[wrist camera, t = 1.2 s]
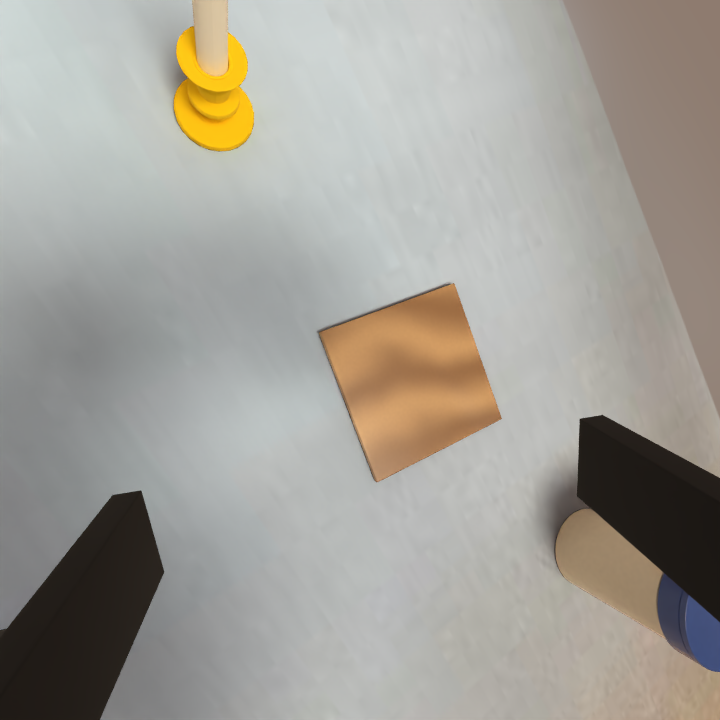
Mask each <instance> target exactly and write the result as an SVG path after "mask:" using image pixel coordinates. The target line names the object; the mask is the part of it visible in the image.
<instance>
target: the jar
mask: <svg viewBox="0 0 720 720" xmlns="http://www.w3.org/2000/svg"><path fill="white" fill-rule="evenodd" d="M555 554H556V561H557V565H558V567H559V570H560V572H561V573H562V575H563V576H564V577H565V579H567V580H568V581H569V582H570V583H572V584H574V585H575V586H577V587H579V588H580V589H582V590H584V591H585V592H587V593H589V594H590V595H592V596H594V597H595V598H597V599H599V600H600V601H602V602H604V603H606V604H607V605H609V606H611V607H612V608H614V609H616V610H617V611H619V612H621V613H622V614H624V615H626V616H627V617H629V618H631V619H633V620H634V621H636V622H638V623H639V624H641V625H643V626H644V627H646V628H648V629H649V630H651V631H653V632H654V633H656V634H658V635H660V636H661V637H663V638H665V636H664V634H663V632H662V629H661V626H660V623H659V618H658V608H657V601H658V592H659V587H660V583H661V580H662V577H663V575H664V573H663V572H662V571H661V570H660V569H659V568H658V567H657V566H655V565H654V564H653V563H652V562H651V561H650V560H649V559H648V558H646V557H645V556H644V555H643V554H642V553H641V552H640V551H639V550H637V549H636V548H635V547H634V546H633V545H632V544H631V543H629V542H628V541H627V540H626V539H625V538H624V537H623V536H622V535H620V534H619V533H618V532H617V531H616V530H615V529H614V528H613V527H611V526H610V525H609V524H608V523H607V522H606V521H605V520H603V519H602V518H601V517H600V516H599V515H598V514H597V513H596V512H594V511H593V510H592V509H582V510H579V511H576V512H575V513H573V514H572V515H570V516H569V517H568V518H567V519H566V521H565V522H564V523H563V525H562V526H561V529H560V531H559V533H558V536H557V540H556V547H555ZM665 639H666V638H665Z"/></svg>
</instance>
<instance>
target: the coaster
mask: <svg viewBox="0 0 720 720" xmlns="http://www.w3.org/2000/svg"><path fill="white" fill-rule="evenodd" d="M319 335H320V338H321V340H322V343H323V346H324V348H325V351H326V353H327V356H328V359H329V361H330V364H331V367H332V369H333V372H334V375H335V377H336V380H337V382H338V385H339V388H340V390H341V393H342V396H343V398H344V401H345V404H346V406H347V409H348V411H349V414H350V417H351V419H352V422H353V425H354V427H355V430H356V433H357V435H358V438H359V440H360V443H361V446H362V448H363V451H364V454H365V456H366V459H367V462H368V464H369V467H370V469H371V472H372V475H373V477H374V480H375V481H376V482H379V481H381V480H383V479H385V478H387V477H389V476H391V475H393V474H395V473H397V472H399V471H400V470H402V469H404V468H406V467H408V466H410V465H412V464H414V463H416V462H418V461H420V460H422V459H424V458H426V457H428V456H430V455H432V454H434V453H436V452H438V451H440V450H442V449H444V448H446V447H448V446H449V445H451V444H453V443H455V442H457V441H459V440H461V439H463V438H465V437H467V436H469V435H471V434H473V433H475V432H477V431H479V430H481V429H483V428H485V427H487V426H489V425H491V424H493V423H495V422H497V421H499V420H500V419H502V418H501V415H500V412H499V410H498V407H497V404H496V401H495V398H494V395H493V393H492V390H491V387H490V384H489V381H488V378H487V375H486V373H485V370H484V367H483V364H482V361H481V358H480V355H479V353H478V350H477V347H476V344H475V341H474V338H473V335H472V333H471V330H470V327H469V324H468V321H467V318H466V316H465V313H464V310H463V307H462V304H461V301H460V298H459V296H458V293H457V290H456V287H455V284H454V283H453V284H450V285H448V286H445V287H442V288H439V289H437V290H434V291H431V292H428V293H426V294H423V295H420V296H417V297H415V298H412V299H409V300H406V301H404V302H401V303H398V304H395V305H393V306H390V307H387V308H385V309H382V310H379V311H376V312H374V313H371V314H368V315H365V316H363V317H360V318H357V319H354V320H352V321H349V322H346V323H343V324H341V325H338V326H335V327H332V328H330V329H327V330H324V331H321V332H319Z"/></svg>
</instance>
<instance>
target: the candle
mask: <svg viewBox="0 0 720 720" xmlns="http://www.w3.org/2000/svg"><path fill="white" fill-rule="evenodd" d="M192 6H193V18H194V26H192V27H190V28H189V29H187V30H185V31H184V32H183V33H182V35H181V36H180V37H179V40H178V43H177V46H176V55H177V59H178V63H179V65H180V67H181V69H182V71H183V73H184V74H185V75H186V76H187V77H188V79H186V80H185V81H183V82H182V83H181V85H180V86H179V87H178V89H177V91H176V94H175V97H174V111H175V115H176V119H177V122H178V124H179V126H180V127H181V129H182V131H183V132H184V133H185V134H186V135H187V136H188V137H189V138H190V139H191V140H192V141H194V142H195V143H196V144H198V145H199V146H202V147H204V148H207V149H209V150H215V151H228V150H232V149H235V148H237V147H239V146H241V145H242V144H243V143H245V142H246V141H247V139H248V138H249V136H250V135H251V132H252V129H253V125H254V112H253V108H252V104H251V102H250V100H249V98H248V97H247V95H246V94H245V92H244V91H243V90H242V89H241V88H240V87H239V85H241V83H242V82H243V81H244V79H245V77H246V74H247V71H248V61H247V57H246V54H245V51H244V50H243V48H242V46H241V44H240V43H239V42H238V41H237V40H236V38H235V37H234V36H232V35H231V34H230V33H228V0H192Z"/></svg>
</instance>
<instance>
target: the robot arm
mask: <svg viewBox="0 0 720 720" xmlns="http://www.w3.org/2000/svg"><path fill="white" fill-rule="evenodd" d="M577 497H579V498H580V499H581V500H582V501H583V502H584V503H585V504H587V505H588V506H589V507H590V508H591V509H592V510H593V511H594V512H596V513H597V514H598V515H599V516H600V517H601V518H602V519H603V520H605V521H606V522H607V523H608V524H609V525H610V526H611V527H613V528H614V529H615V530H616V531H617V532H618V533H619V534H620V535H622V536H623V537H624V538H625V539H626V540H627V541H628V542H629V543H631V544H632V545H633V546H634V547H635V548H636V549H637V550H639V551H640V552H641V553H642V554H643V555H644V556H645V557H646V558H648V559H649V560H650V561H651V562H652V563H653V564H654V565H655V566H657V567H658V568H659V569H660V570H661V571H662V572H663V573H665V574H666V575H667V576H668V577H669V578H670V579H671V580H672V581H674V582H675V583H676V584H677V585H678V586H679V587H680V588H681V589H683V590H684V591H685V592H686V593H687V594H688V595H689V596H691V597H692V598H693V599H694V600H695V601H696V602H697V603H698V604H700V605H701V606H702V607H703V608H704V609H705V610H706V611H707V612H709V613H710V614H711V615H712V616H713V617H714V618H715V619H717V620H718V621H719V622H720V478H719V477H717V476H715V475H713V474H711V473H709V472H707V471H706V470H704V469H702V468H700V467H698V466H696V465H694V464H693V463H691V462H689V461H687V460H685V459H683V458H681V457H680V456H678V455H676V454H674V453H672V452H670V451H668V450H667V449H665V448H663V447H661V446H659V445H657V444H655V443H654V442H652V441H650V440H648V439H646V438H644V437H642V436H641V435H639V434H637V433H635V432H633V431H631V430H629V429H628V428H626V427H624V426H622V425H620V424H618V423H616V422H615V421H613V420H611V419H609V418H607V417H605V416H603V415H600V416H594V417H588V418H582V419H580V429H579V457H578V485H577ZM163 574H164V569H163V566H162V562H161V559H160V555H159V552H158V548H157V545H156V541H155V537H154V534H153V530H152V527H151V523H150V520H149V516H148V513H147V509H146V506H145V502H144V498H143V495H142V491H135V492H129V493H123V494H117V495H112V496H111V498H110V499H109V500H108V502H107V503H106V504H105V505H104V507H103V508H102V509H101V510H100V512H99V513H98V514H97V515H96V517H95V518H94V519H93V521H92V522H91V523H90V524H89V526H88V527H87V528H86V529H85V531H84V532H83V533H82V534H81V536H80V537H79V538H78V539H77V541H76V542H75V543H74V545H73V546H72V547H71V548H70V550H69V551H68V552H67V553H66V555H65V556H64V557H63V558H62V560H61V561H60V562H59V564H58V565H57V566H56V567H55V569H54V570H53V571H52V572H51V574H50V575H49V576H48V577H47V579H46V580H45V581H44V583H43V584H42V585H41V586H40V588H39V589H38V590H37V591H36V593H35V594H34V595H33V596H32V598H31V599H30V600H29V602H28V603H27V604H26V605H25V607H24V608H23V609H22V610H21V612H20V613H19V614H18V615H17V617H16V618H15V619H14V620H13V622H12V623H11V624H10V626H9V627H8V628H7V629H3V630H0V720H100V718H101V716H102V713H103V711H104V709H105V706H106V704H107V702H108V699H109V697H110V695H111V693H112V690H113V688H114V686H115V683H116V681H117V679H118V677H119V674H120V672H121V670H122V667H123V665H124V663H125V661H126V658H127V656H128V654H129V651H130V649H131V647H132V645H133V642H134V640H135V638H136V635H137V633H138V631H139V629H140V626H141V624H142V622H143V619H144V617H145V615H146V613H147V610H148V608H149V606H150V603H151V601H152V599H153V596H154V594H155V592H156V590H157V587H158V585H159V583H160V580H161V578H162V576H163Z"/></svg>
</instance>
